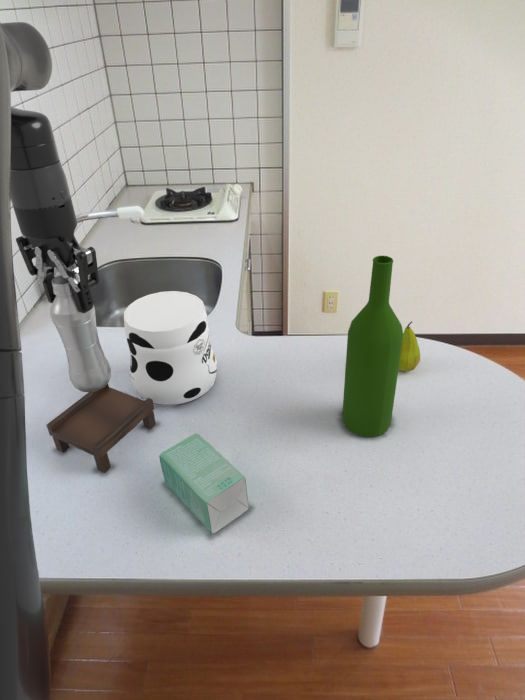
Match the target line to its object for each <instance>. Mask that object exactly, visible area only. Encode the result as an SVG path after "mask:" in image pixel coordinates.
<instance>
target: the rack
mask: <svg viewBox="0 0 525 700" xmlns="http://www.w3.org/2000/svg"><path fill="white" fill-rule="evenodd" d="M154 410H155V404H153V399H151V398H147V399H146V400H144V399H142V398H139V397H136V396H133V395H131V394H129V393H126V392H123V391H121V390H118V389H116V388H114V387H111V386H109V383H108V384H107V385H106V386H105V387H104V388H102V389H100V390H98V391H94V392H86V394H84V395H83V396H82V397H80V398H79V399H78V400H76V401H75V402H73V403H72V404H71V405H70V406H69V407H67V408H66V409H65V410H63V411H62V412H61V413H60V414H58V415H57V416H56V417H54V418H53V419H52V420H50V421H49V422H48V423H46V424H45V427H46V428H47V432H48V435H49V436H50V437H51V438H52V440H53V443H54V446H55V448H56V451H58V452H60V453H62V454H64V453H65V452H66V451H68V450H69V449H70V446H72V447H74V448H77V449H78V450H80V451H83V452H85V453H87V454H89V455H90V456H93V459H94V462H95V466H96V468H97V471H99V472H101V473H102V474H106V473H107V472H108V471H109V470H110V469H111V468H112V464H111V461H110V458H109V455H108V452H109V451H110V450H111V449H113V448H114V446H116V445H117V444H119V442H121V440H123V438H125V437H126V436H127V435H128V434H129V433H130V432H131V431H132V430H134V429H135V427H137V426H138V425H139V424H140V423H142V424H143V428H145V429H148V430H150V431H152V429H153V428H154V427H156V425H157V422H156V418H155V413H154Z"/></svg>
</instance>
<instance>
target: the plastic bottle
mask: <svg viewBox="0 0 525 700" xmlns="http://www.w3.org/2000/svg"><path fill="white" fill-rule="evenodd" d="M54 277H55V278H54V279H52V286H53V292H54V294H55V295H56V297H55V299H54V301H53V303H51V306H50V309H49V315H50V318H51V321H52V323H53V325H54V327H55V329H56V331H57V333H58V335H59V337H60V340H61V343H62V344H63V347H64V350H65V355H66V359H67V365H68V367H67V368H68V376H69V380H70V382H71V384H72V386H73V387H74V388H75V389H76V390H78V391H80V392H83V393H88V392H94V391H98V390H100V389H102V388H104V387H105V386H106V385H107V384H108V385H109V383H110V380H111V379H112V369H111V366H110V362H109V361H108V358H107V357H106V356H105V353H104V350H103V348H102V345H101V342H100V337H99V332H98V327H97V318H96V317H97V316H96V308H95V304H94V303H93V308H92V309H91V310H89V311H88V312H86V313H81V312H79V310H78V306H77V302H76V299H75V295H74V291H75V290H74V289H73V287H72V286H71V284H70V282H69V280H68V279H65V278H63V276H62V275H61V274H60V275H57V276H54ZM75 278H76V279H77V281H78V282H79V277H78V276H77V274H75Z"/></svg>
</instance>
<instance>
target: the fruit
mask: <svg viewBox="0 0 525 700" xmlns="http://www.w3.org/2000/svg"><path fill="white" fill-rule="evenodd" d="M412 323H413V321H412V320H411V321H410V322H409V323H408V324H407V326H406V327H405V328H404V330H403V341H402V348H401V355H400V362H399V369H398V371H400V372H410V371H413V370H415V369H416V367H417V366H418V365H419V363H420V362H421V351H420V350H421V349H420V347H419V346H420V345H419V343H418V339H417V337H416V333H415V332H414V330H413V329H412V328H411V324H412Z"/></svg>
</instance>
